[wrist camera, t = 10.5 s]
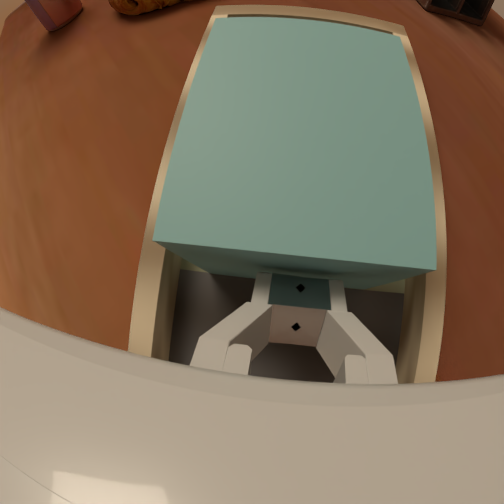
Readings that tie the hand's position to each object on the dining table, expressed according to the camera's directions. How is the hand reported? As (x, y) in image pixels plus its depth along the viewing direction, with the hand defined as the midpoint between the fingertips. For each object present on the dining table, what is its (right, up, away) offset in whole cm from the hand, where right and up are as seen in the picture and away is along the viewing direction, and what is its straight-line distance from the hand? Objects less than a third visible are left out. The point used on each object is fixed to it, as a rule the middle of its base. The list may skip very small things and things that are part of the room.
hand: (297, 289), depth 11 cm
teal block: (+1, +5, +5) cm, 7 cm away
